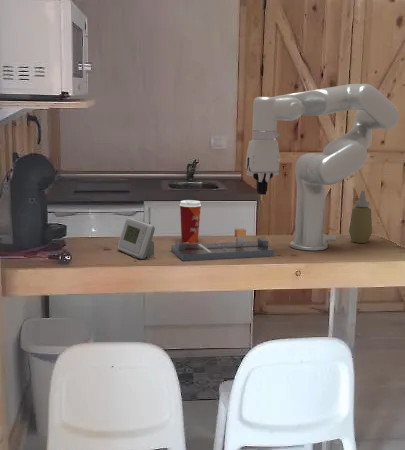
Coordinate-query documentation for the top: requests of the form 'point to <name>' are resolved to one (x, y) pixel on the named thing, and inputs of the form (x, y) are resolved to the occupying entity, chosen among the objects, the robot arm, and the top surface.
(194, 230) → the paper cup
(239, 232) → the fader tab
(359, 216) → the squeeze bottle
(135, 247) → the digital clock
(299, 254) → the top surface
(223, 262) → the top surface
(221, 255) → the grey slider board
